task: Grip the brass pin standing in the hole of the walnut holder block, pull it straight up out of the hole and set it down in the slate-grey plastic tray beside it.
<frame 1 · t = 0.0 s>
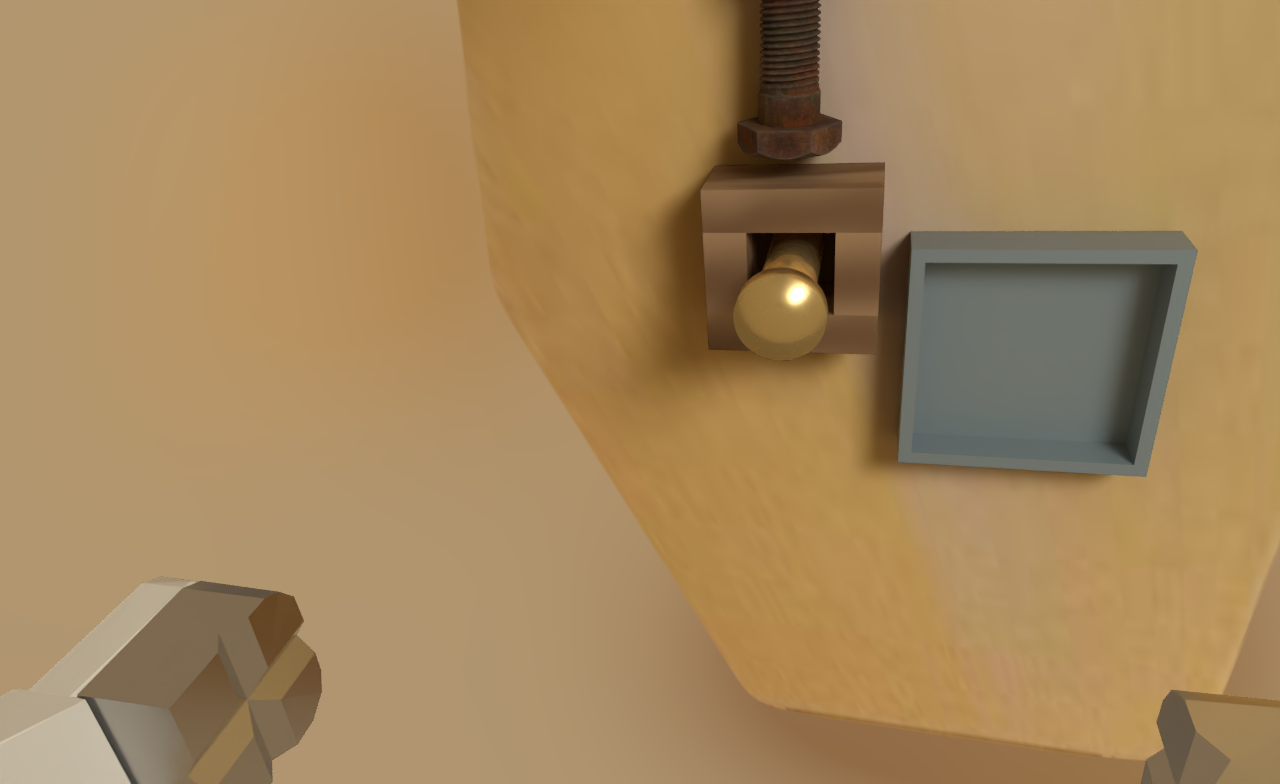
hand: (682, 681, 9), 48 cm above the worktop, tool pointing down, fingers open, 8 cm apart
holder: (797, 244, 56), on the worktop
pin: (789, 278, 51), in the holder
tray: (1026, 344, 56), on the worktop
bolt: (796, 0, 50), on the worktop
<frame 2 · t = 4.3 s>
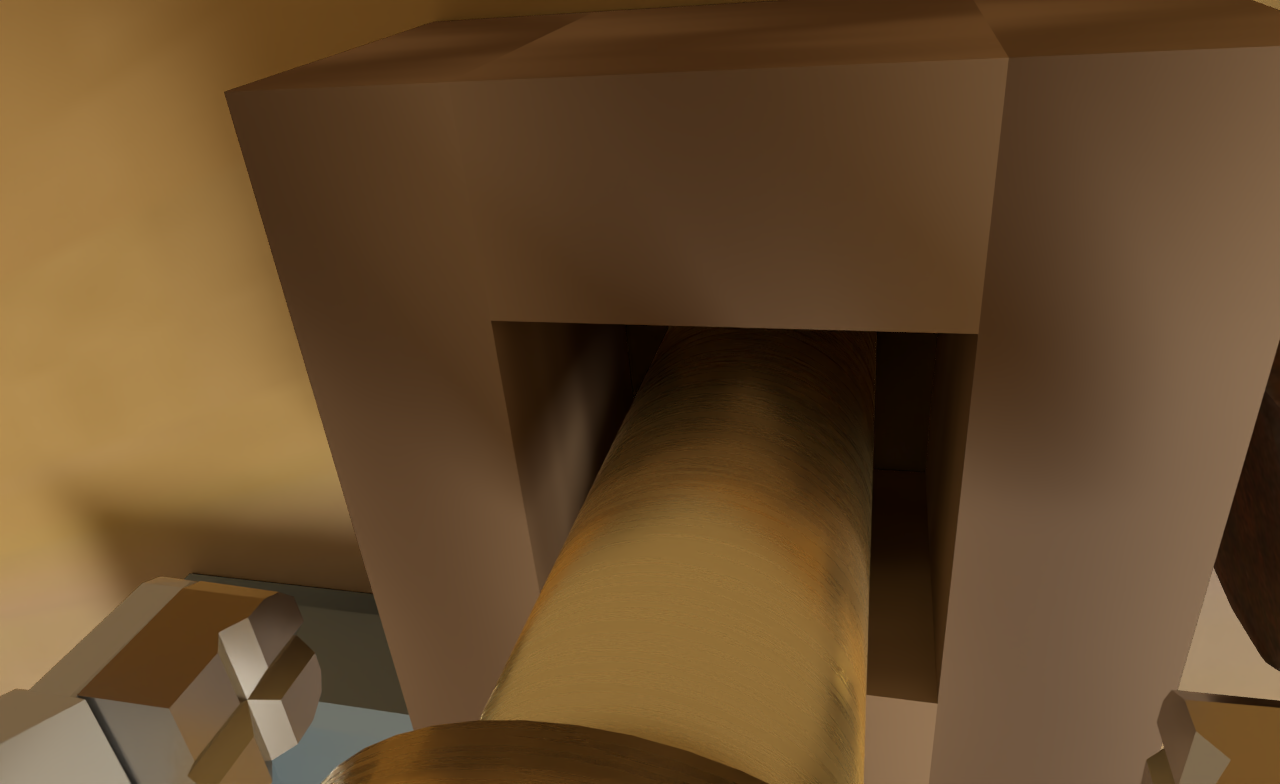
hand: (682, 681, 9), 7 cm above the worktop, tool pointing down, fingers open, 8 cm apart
holder: (774, 334, 15), on the worktop
pin: (719, 555, 10), in the holder
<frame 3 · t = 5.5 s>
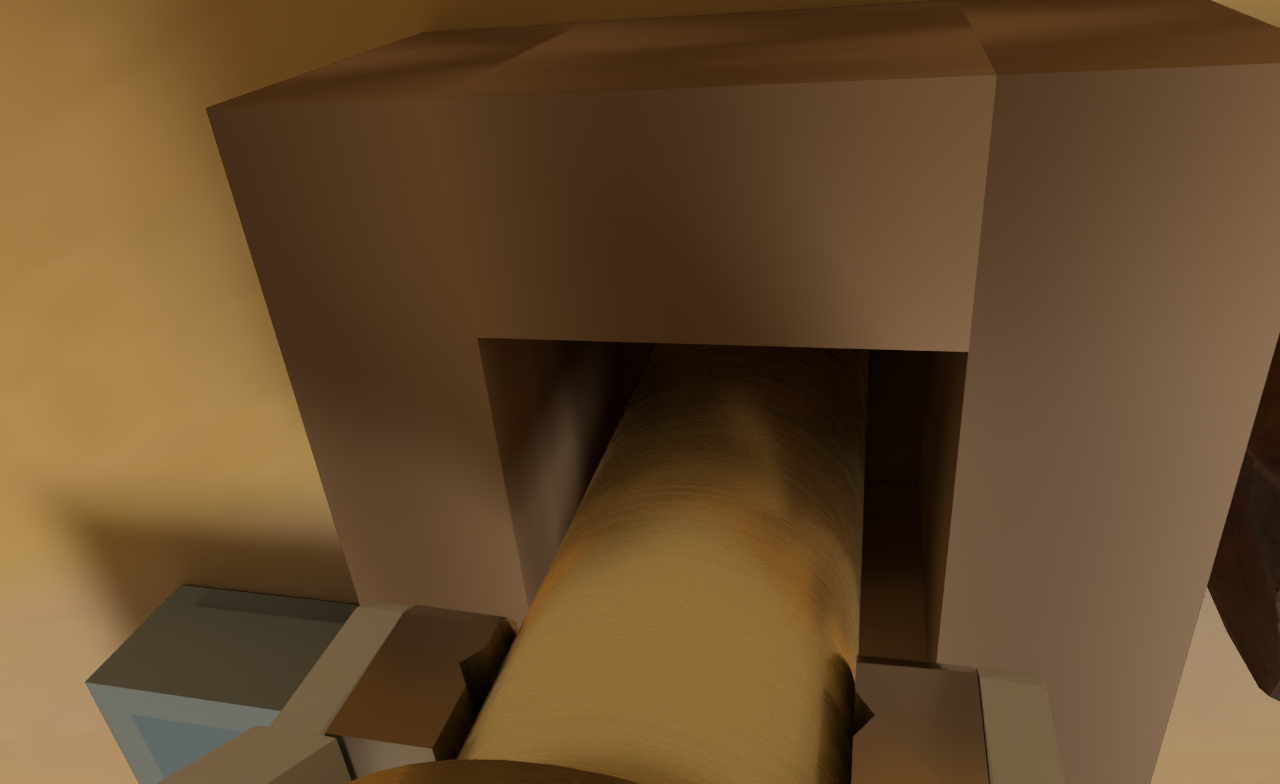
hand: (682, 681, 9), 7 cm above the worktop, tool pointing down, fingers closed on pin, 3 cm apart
holder: (766, 345, 14), on the worktop
pin: (709, 574, 10), in the holder, touching gripper
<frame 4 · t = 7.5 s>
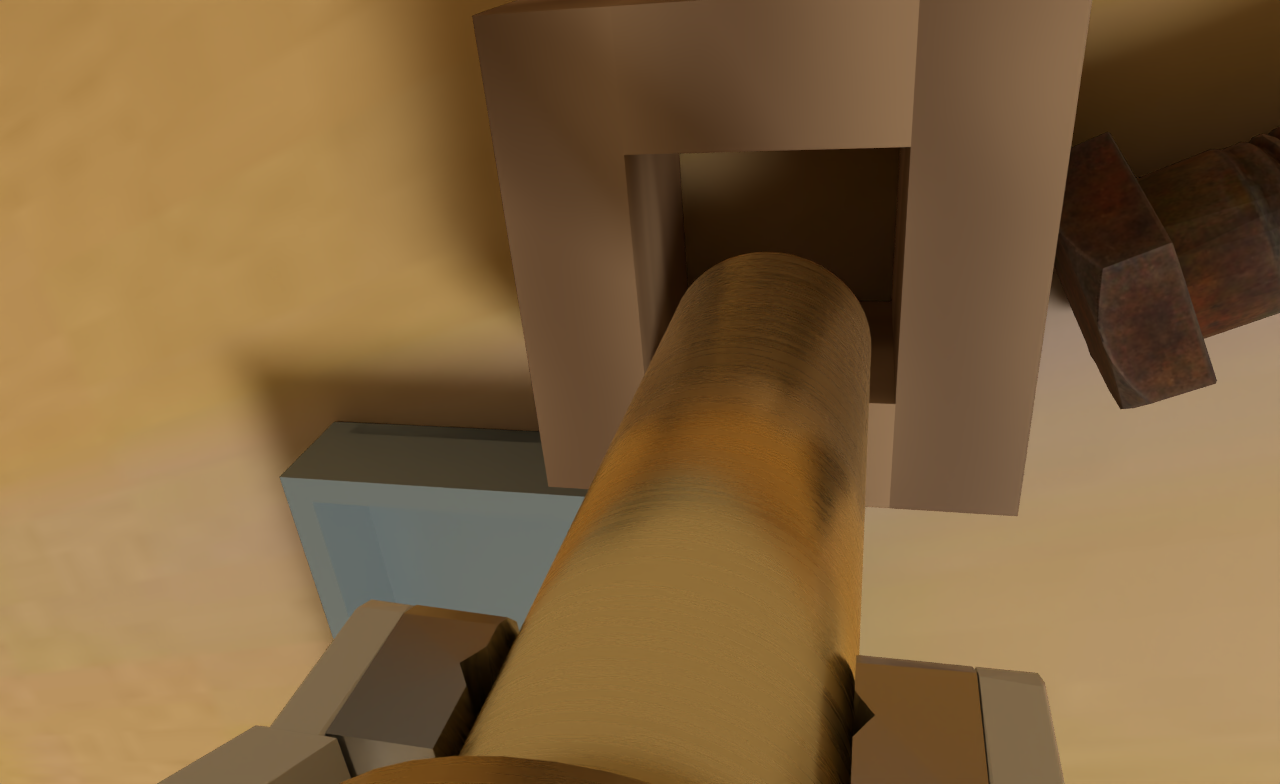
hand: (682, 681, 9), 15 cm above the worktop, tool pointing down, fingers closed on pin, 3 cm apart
holder: (786, 202, 21), on the worktop
pin: (710, 573, 10), point 13 cm above the worktop, touching gripper
tray: (588, 622, 29), on the worktop
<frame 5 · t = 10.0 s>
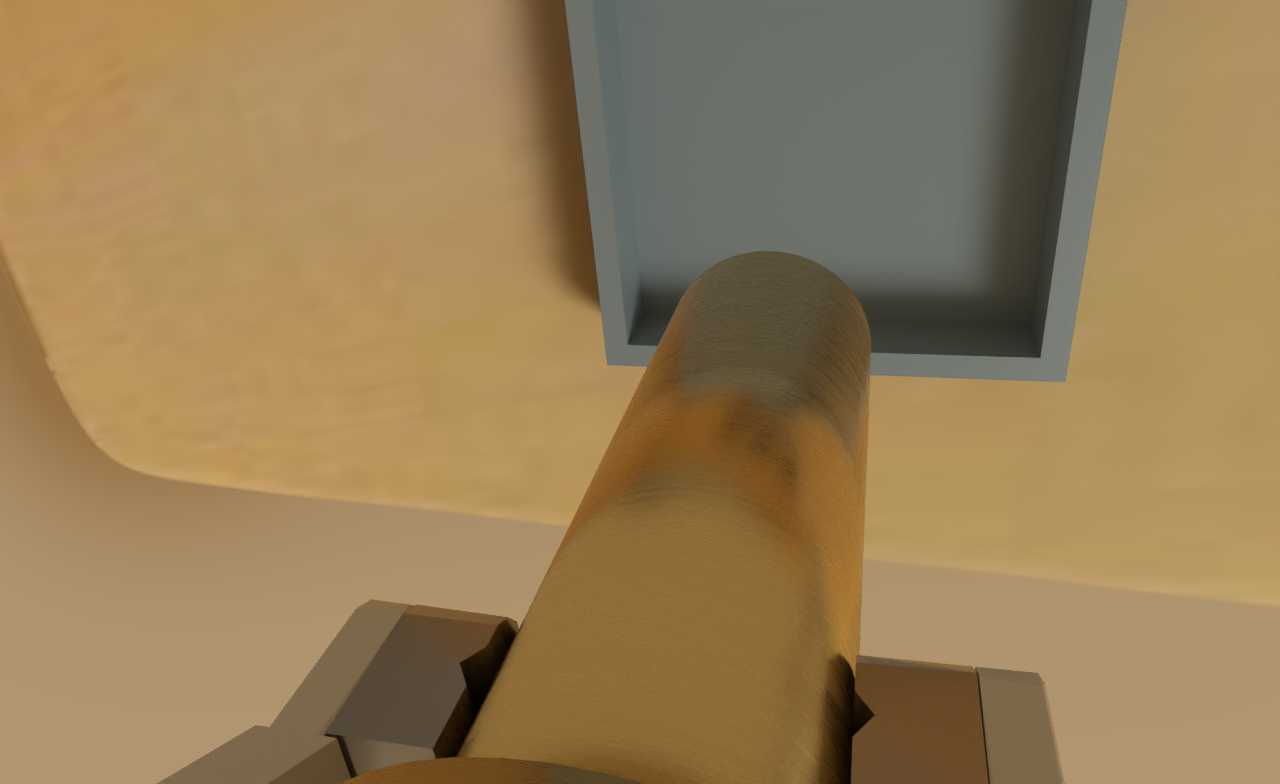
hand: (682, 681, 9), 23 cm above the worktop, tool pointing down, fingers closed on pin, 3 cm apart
pin: (710, 573, 10), point 22 cm above the worktop, touching gripper
tray: (831, 123, 28), on the worktop
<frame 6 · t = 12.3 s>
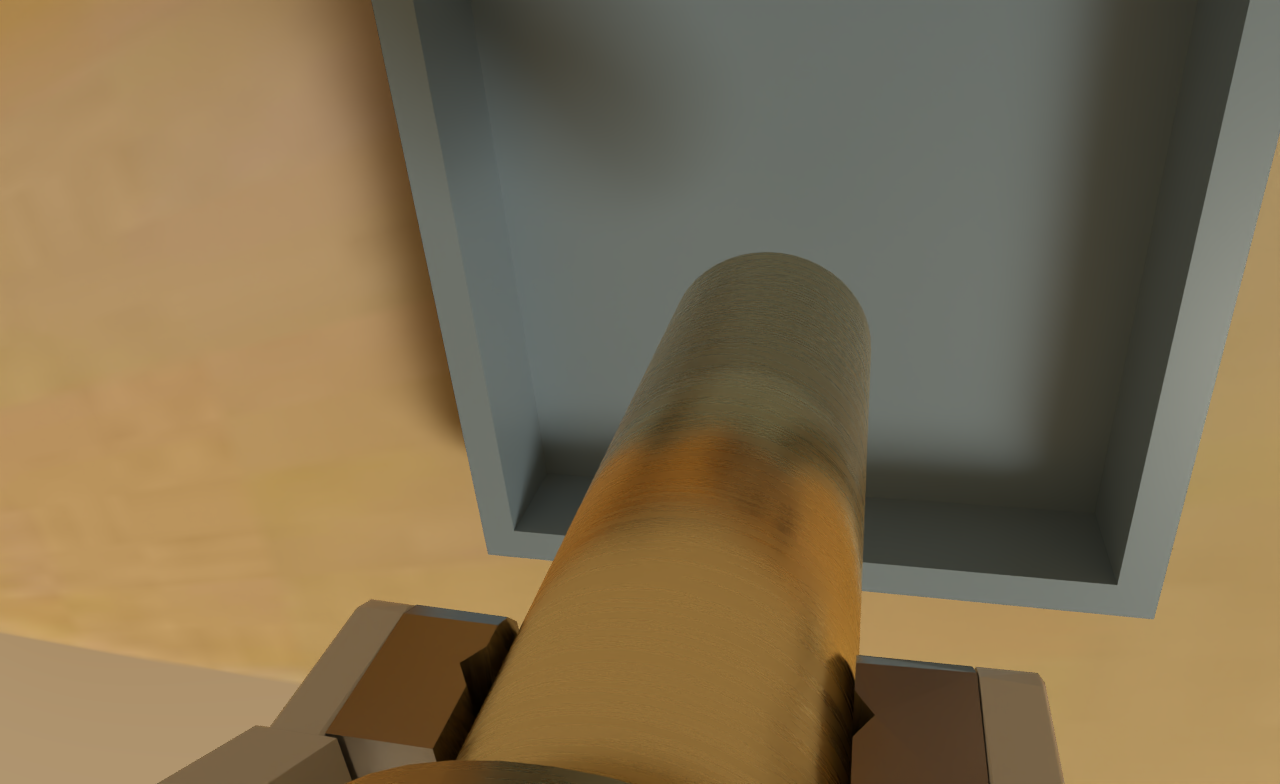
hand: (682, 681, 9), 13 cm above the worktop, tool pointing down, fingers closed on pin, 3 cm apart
pin: (709, 575, 10), point 11 cm above the worktop, touching gripper
tray: (804, 224, 19), on the worktop
when the fingers open (9 cm above the worktop, at t = 14.2 s): pin moves 2 cm, resting on tray.
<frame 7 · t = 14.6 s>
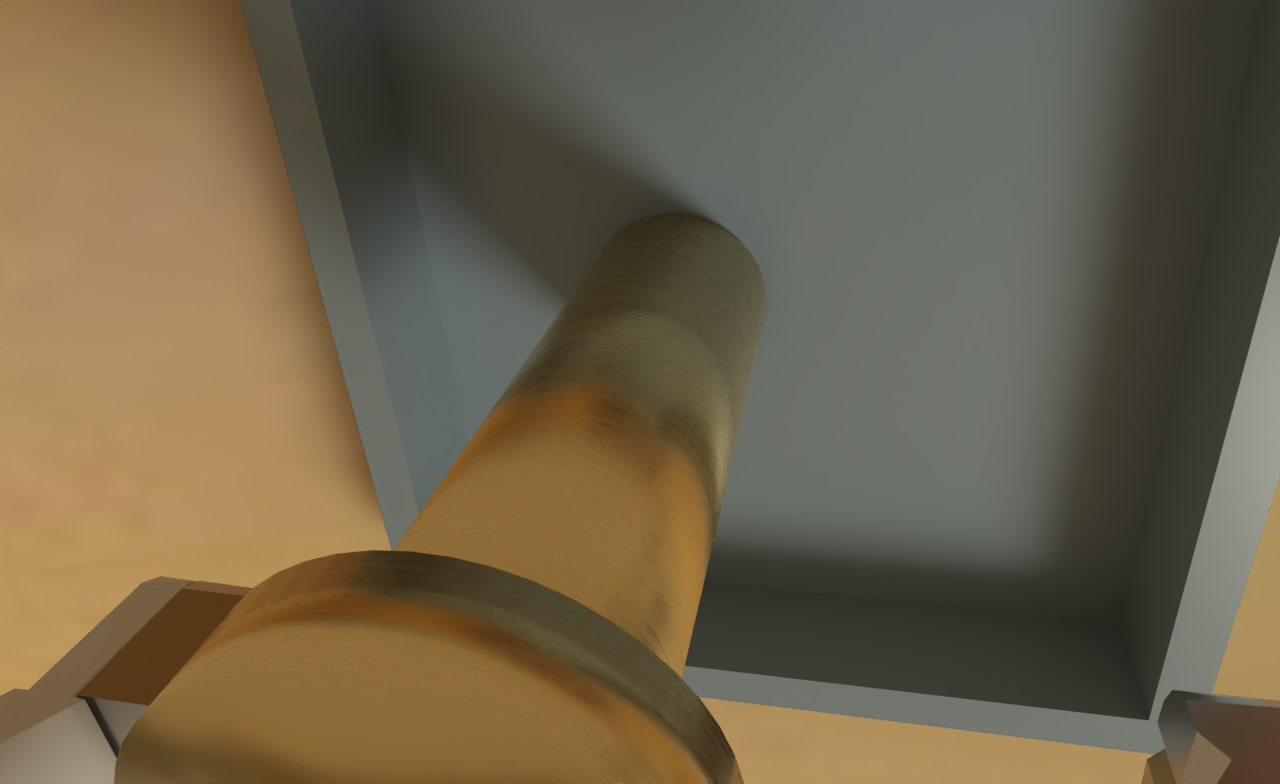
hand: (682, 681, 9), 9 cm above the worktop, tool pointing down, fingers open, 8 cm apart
pin: (598, 477, 11), in the tray, point 6 cm above the worktop, touching gripper
tray: (779, 293, 16), on the worktop
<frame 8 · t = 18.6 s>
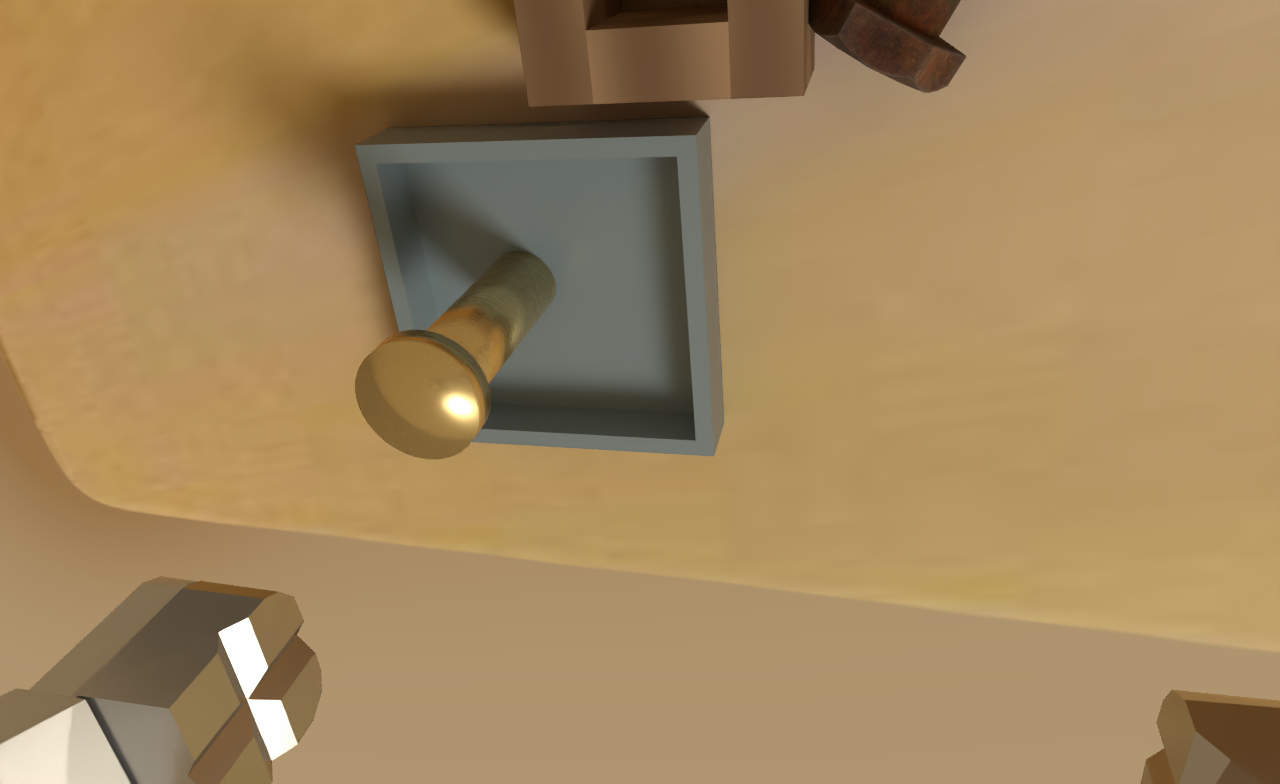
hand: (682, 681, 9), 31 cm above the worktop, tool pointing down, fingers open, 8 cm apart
pin: (476, 336, 37), in the tray, point 6 cm above the worktop
tray: (562, 281, 42), on the worktop
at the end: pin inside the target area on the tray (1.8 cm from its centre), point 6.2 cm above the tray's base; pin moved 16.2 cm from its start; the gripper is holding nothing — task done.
